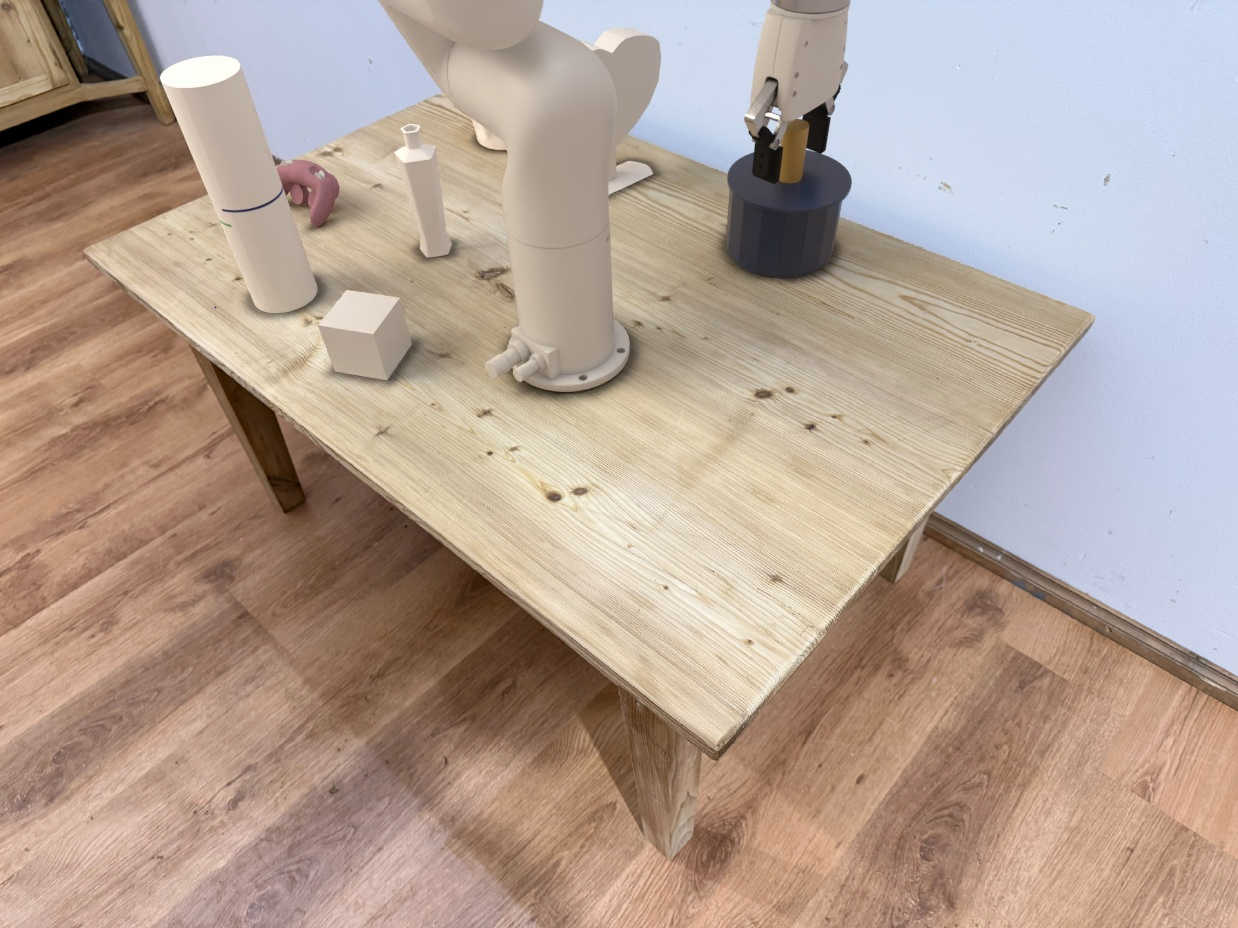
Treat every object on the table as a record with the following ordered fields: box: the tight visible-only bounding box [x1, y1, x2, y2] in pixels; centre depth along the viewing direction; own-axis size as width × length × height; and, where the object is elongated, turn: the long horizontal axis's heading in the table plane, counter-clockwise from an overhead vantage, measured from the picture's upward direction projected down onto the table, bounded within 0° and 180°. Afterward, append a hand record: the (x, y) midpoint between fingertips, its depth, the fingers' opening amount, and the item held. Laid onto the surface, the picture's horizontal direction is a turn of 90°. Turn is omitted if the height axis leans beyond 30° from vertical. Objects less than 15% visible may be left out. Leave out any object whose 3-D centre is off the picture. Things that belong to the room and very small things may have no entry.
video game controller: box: [276, 159, 340, 227], centre depth 108 cm, size 10×5×7 cm, turn 58°
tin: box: [725, 188, 843, 279], centre depth 97 cm, size 12×12×8 cm
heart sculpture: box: [578, 26, 662, 196], centre depth 105 cm, size 16×5×18 cm, turn 131°
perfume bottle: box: [394, 123, 453, 259], centre depth 97 cm, size 5×4×15 cm
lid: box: [726, 118, 853, 214], centre depth 92 cm, size 14×14×7 cm
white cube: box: [317, 289, 413, 381], centre depth 87 cm, size 6×6×6 cm
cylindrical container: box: [159, 55, 318, 314], centre depth 88 cm, size 7×7×25 cm
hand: (789, 163), depth 93 cm, fingers open, 8 cm apart
